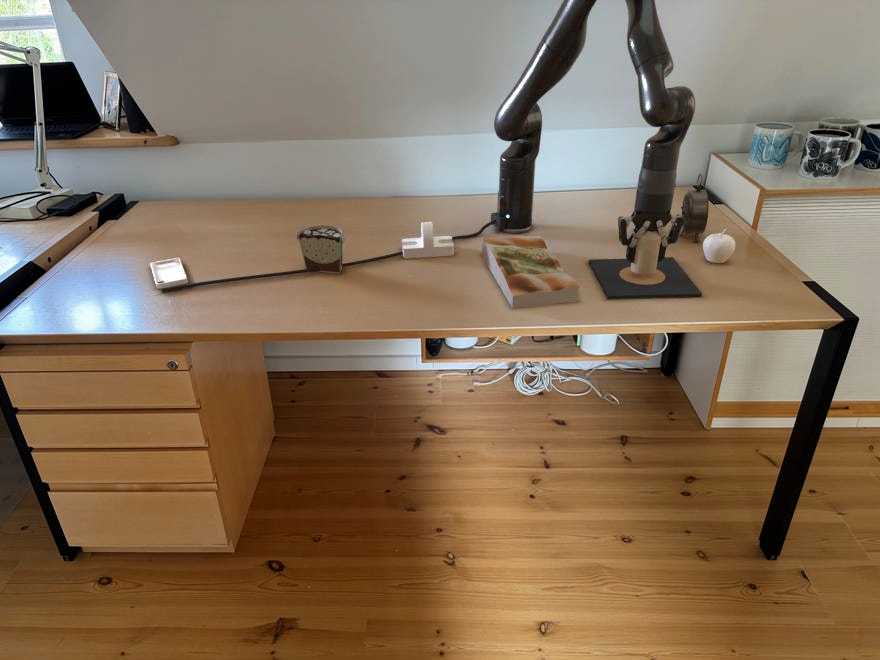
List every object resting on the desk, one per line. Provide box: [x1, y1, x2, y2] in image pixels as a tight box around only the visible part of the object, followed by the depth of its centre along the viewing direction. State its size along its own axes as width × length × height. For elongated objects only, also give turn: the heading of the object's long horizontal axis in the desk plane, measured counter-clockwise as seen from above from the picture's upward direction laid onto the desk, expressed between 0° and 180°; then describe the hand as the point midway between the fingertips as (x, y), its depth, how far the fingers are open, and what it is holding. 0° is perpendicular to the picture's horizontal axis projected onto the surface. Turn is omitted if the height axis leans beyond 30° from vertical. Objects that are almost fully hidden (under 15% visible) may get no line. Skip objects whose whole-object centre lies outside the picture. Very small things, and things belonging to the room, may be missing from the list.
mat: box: [588, 256, 703, 300], centre depth 153 cm, size 20×20×1 cm
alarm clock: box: [679, 173, 710, 243], centre depth 170 cm, size 11×5×16 cm, turn 168°
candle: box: [631, 231, 661, 275], centre depth 150 cm, size 6×6×10 cm
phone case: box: [150, 257, 189, 290], centre depth 167 cm, size 7×1×15 cm
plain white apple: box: [702, 228, 736, 264], centre depth 158 cm, size 7×7×8 cm
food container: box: [296, 224, 346, 275], centre depth 165 cm, size 12×6×10 cm, turn 71°
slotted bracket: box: [401, 221, 455, 259], centre depth 171 cm, size 13×7×8 cm, turn 93°
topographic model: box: [481, 235, 580, 309], centre depth 156 cm, size 30×14×5 cm, turn 7°
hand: (644, 260), depth 151 cm, fingers closed on candle, 5 cm apart
